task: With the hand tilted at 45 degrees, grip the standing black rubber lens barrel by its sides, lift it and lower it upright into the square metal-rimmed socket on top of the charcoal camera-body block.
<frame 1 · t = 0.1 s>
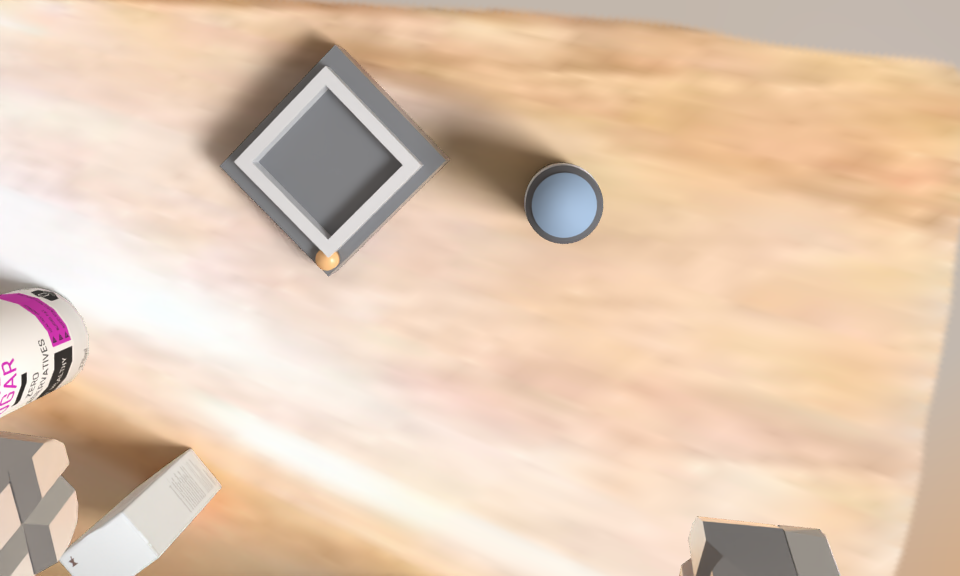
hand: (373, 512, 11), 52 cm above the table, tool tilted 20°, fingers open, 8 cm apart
lens: (559, 195, 61), on the table
supplement can: (45, 336, 66), on the table
dock: (341, 162, 62), on the table
skincare box: (182, 485, 68), on the table
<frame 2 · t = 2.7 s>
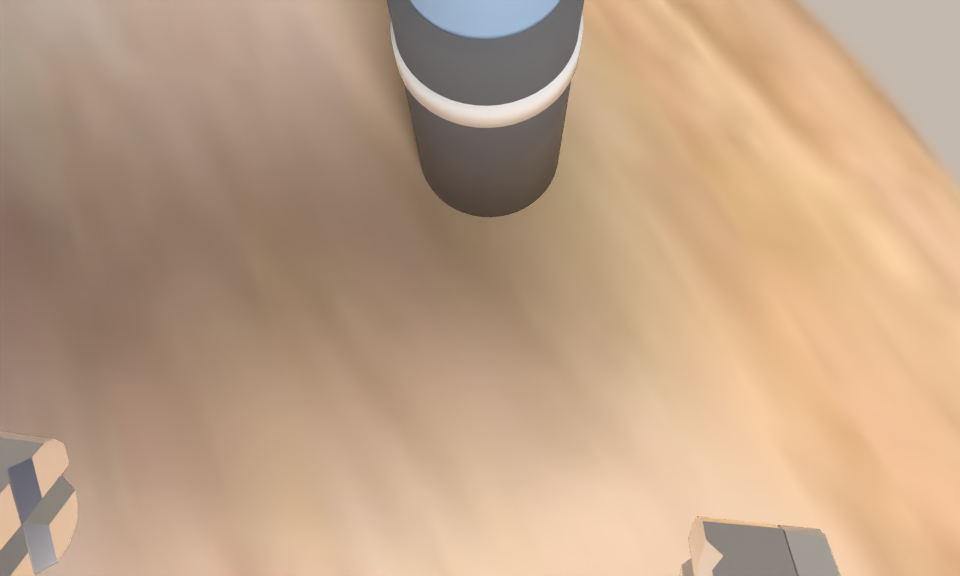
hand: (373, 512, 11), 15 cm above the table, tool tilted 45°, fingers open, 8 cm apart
lens: (489, 152, 29), on the table
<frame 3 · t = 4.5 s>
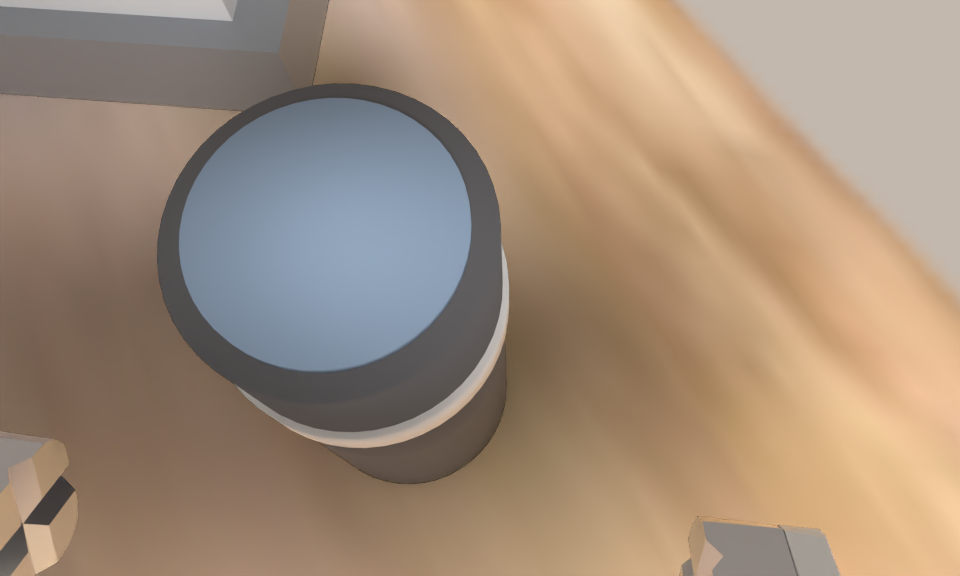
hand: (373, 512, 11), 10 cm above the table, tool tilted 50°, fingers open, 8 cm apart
lens: (411, 386, 21), on the table
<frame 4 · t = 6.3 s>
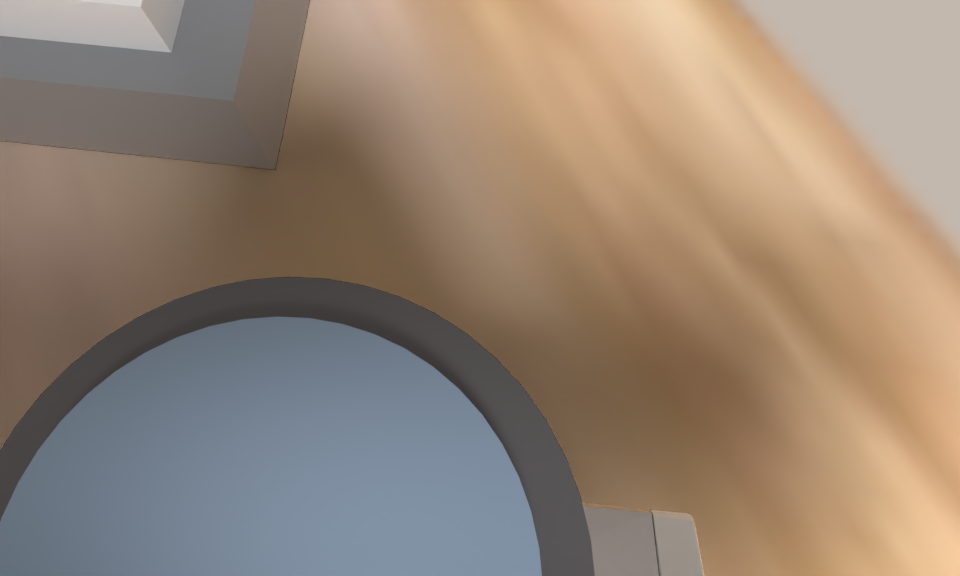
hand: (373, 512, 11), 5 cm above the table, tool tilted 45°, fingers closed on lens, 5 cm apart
lens: (408, 554, 16), on the table, touching gripper
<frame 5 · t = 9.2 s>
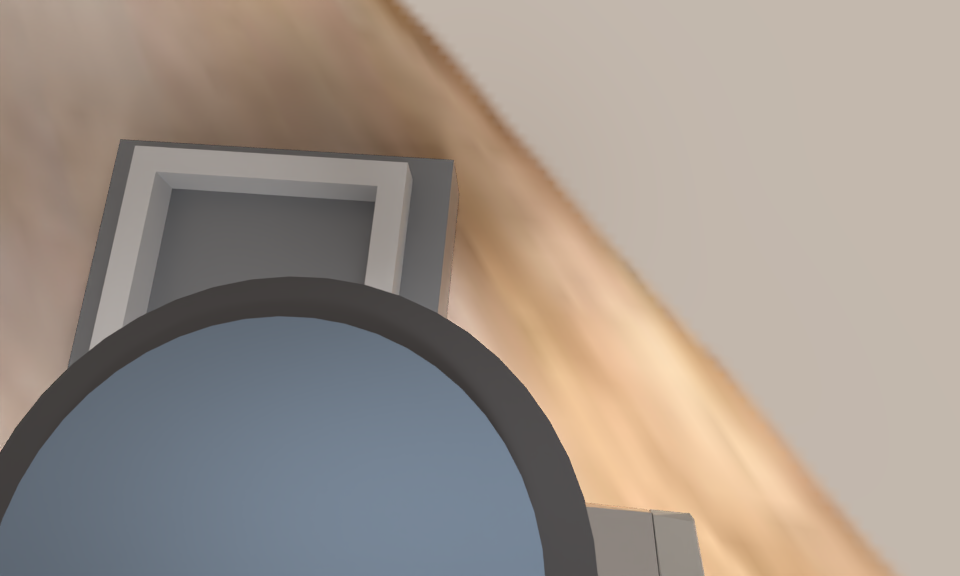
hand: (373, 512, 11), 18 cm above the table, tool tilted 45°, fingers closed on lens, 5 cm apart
lens: (409, 553, 16), point 13 cm above the table, touching gripper
dock: (283, 321, 31), on the table
when the fingers open (10 cm above the table, at t = 12.4 s): lens drops 1 cm, resting on dock.
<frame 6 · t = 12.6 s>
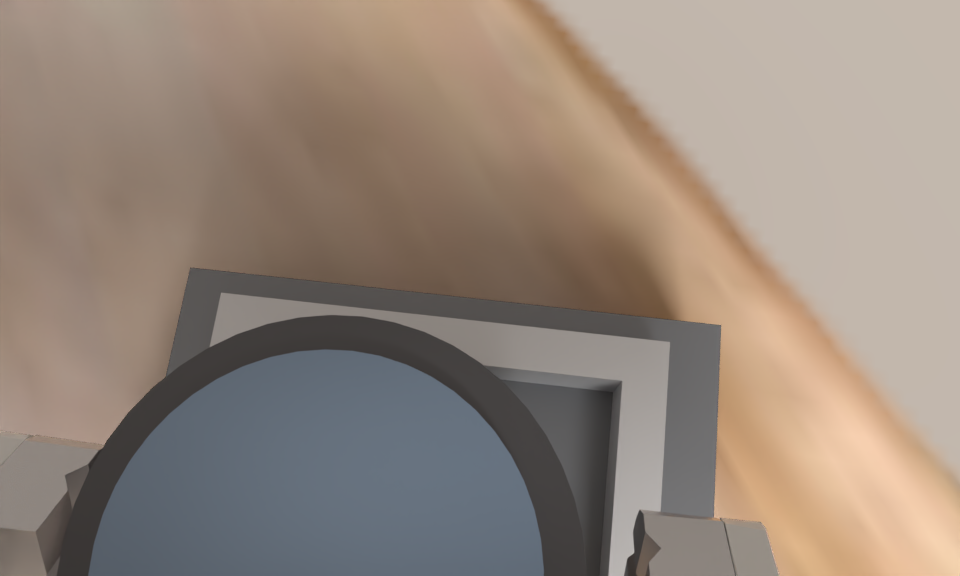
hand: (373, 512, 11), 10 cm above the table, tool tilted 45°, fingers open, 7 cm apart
lens: (413, 548, 17), point 3 cm above the table, touching dock
dock: (428, 548, 20), on the table
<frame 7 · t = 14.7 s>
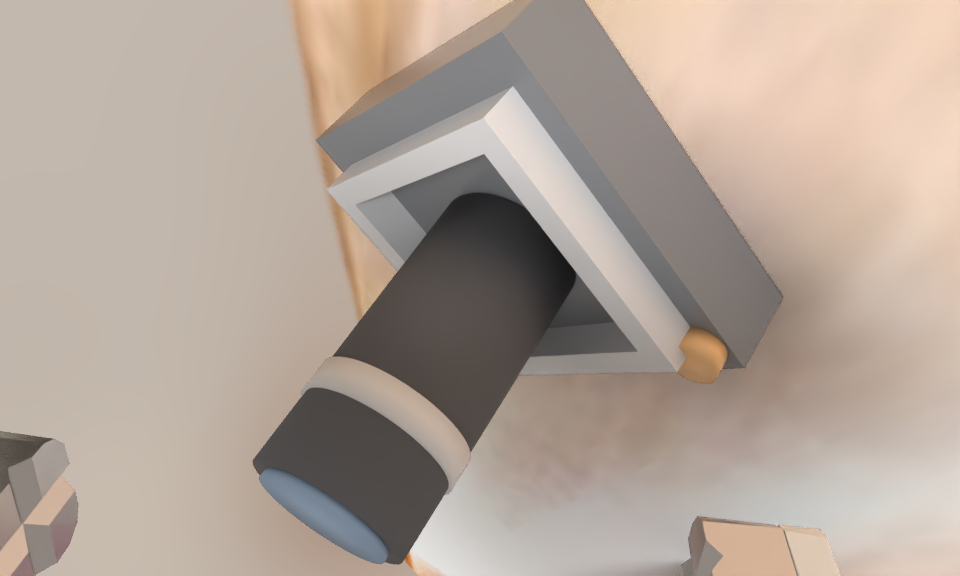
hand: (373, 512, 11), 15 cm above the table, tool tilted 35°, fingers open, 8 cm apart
lens: (508, 249, 27), point 3 cm above the table, touching dock
dock: (557, 185, 28), on the table
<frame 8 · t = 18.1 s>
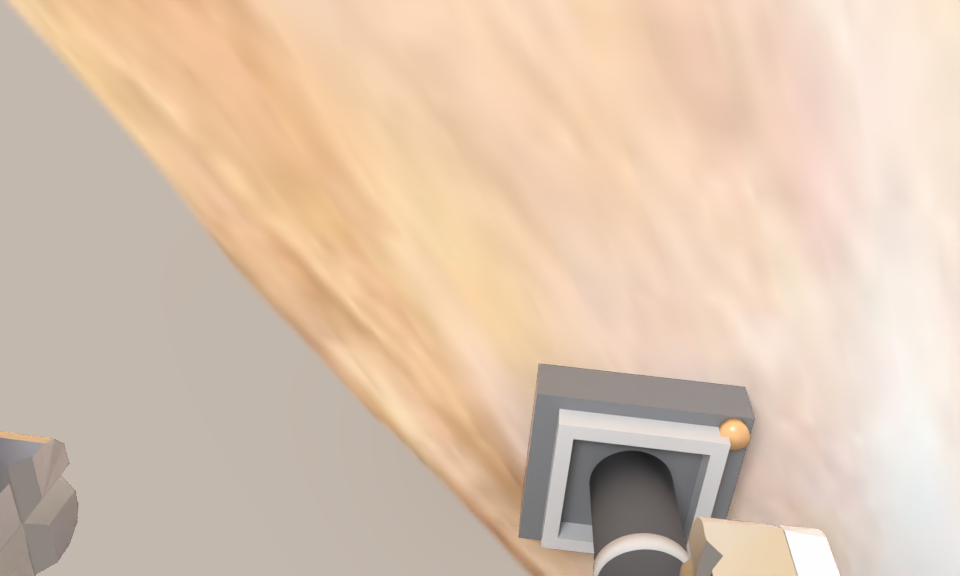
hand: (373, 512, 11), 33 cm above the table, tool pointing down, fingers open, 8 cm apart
lens: (630, 483, 49), point 3 cm above the table, touching dock
dock: (626, 448, 51), on the table
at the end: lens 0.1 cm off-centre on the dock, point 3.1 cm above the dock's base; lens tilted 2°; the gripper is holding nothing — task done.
